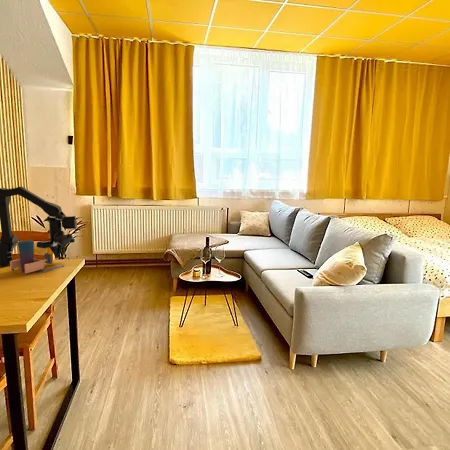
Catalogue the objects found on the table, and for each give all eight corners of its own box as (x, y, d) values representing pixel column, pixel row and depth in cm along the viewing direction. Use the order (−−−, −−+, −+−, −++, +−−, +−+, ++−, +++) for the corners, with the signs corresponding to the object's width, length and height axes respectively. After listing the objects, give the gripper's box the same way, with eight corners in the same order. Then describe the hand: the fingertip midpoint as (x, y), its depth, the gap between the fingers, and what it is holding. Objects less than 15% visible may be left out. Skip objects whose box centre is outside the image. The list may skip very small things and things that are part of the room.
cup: (38, 269, 166) (37, 240, 164) (29, 273, 160) (27, 243, 157) (25, 268, 167) (24, 239, 165) (16, 272, 160) (14, 242, 158)
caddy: (42, 262, 177) (41, 252, 176) (57, 266, 171) (57, 255, 170) (10, 270, 162) (9, 259, 161) (26, 274, 157) (25, 263, 156)
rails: (18, 268, 167) (18, 267, 167) (44, 261, 180) (44, 260, 180) (39, 273, 161) (39, 272, 160) (64, 266, 173) (64, 265, 173)
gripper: (49, 233, 163) (51, 264, 166) (81, 228, 179) (82, 256, 182) (34, 231, 168) (36, 260, 170) (66, 226, 184) (68, 253, 187)
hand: (57, 257), depth 177 cm, fingers closed
